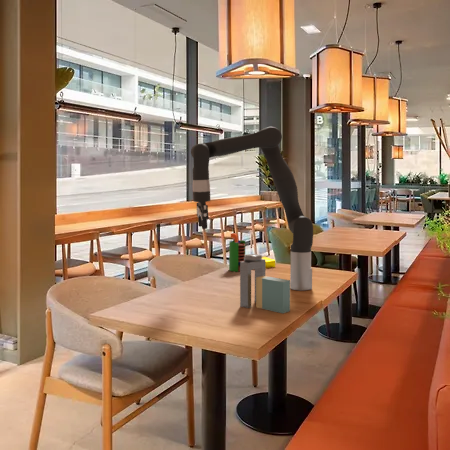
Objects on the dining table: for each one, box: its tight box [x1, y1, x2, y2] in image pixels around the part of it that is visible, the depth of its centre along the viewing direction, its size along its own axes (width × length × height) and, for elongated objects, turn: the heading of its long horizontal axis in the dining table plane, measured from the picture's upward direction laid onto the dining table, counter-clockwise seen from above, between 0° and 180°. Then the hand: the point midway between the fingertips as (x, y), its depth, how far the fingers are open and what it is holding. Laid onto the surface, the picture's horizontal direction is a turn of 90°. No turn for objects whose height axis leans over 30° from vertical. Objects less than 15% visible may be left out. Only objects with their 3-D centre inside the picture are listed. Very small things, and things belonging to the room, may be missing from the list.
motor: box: [228, 233, 246, 273], centre depth 274 cm, size 10×9×20 cm
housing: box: [239, 253, 266, 309], centre depth 202 cm, size 7×11×20 cm, turn 137°
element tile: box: [262, 255, 277, 269], centre depth 286 cm, size 15×15×5 cm
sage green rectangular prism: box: [255, 275, 291, 314], centre depth 196 cm, size 13×4×12 cm, turn 47°
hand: (202, 227), depth 220 cm, fingers open, 8 cm apart
